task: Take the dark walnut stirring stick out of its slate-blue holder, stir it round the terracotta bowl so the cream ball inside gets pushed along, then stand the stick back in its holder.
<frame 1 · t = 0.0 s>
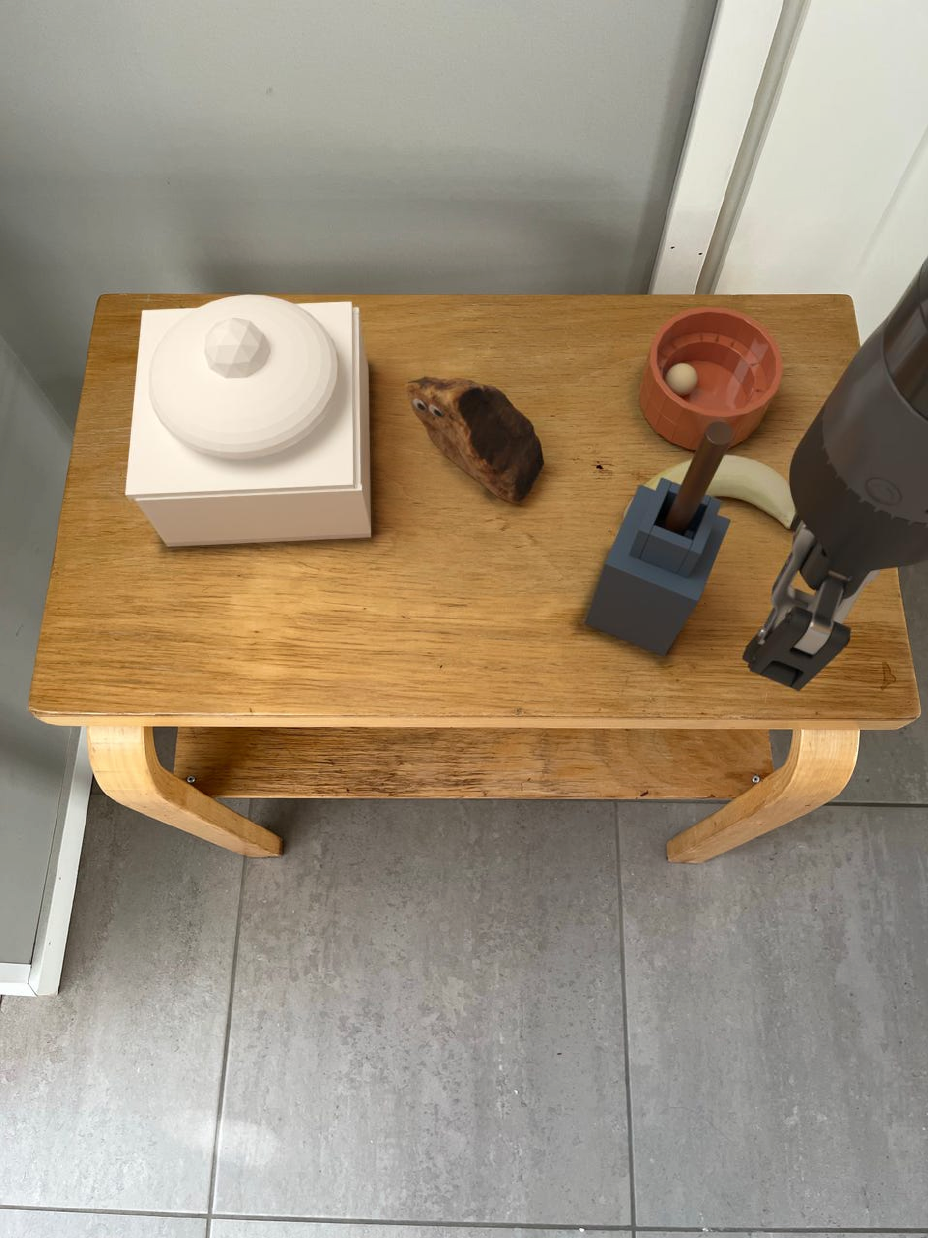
hand: (785, 594, 50), 24 cm above the table, tool pointing down, fingers open, 8 cm apart
decorative rock: (475, 460, 81), on the table
ball: (681, 379, 82), point 2 cm above the table, touching bowl
holder: (638, 604, 76), on the table
stick: (668, 541, 65), point 12 cm above the table, touching holder
white lidded box: (269, 454, 81), on the table
bowl: (699, 401, 83), on the table
fruit: (700, 516, 79), on the table
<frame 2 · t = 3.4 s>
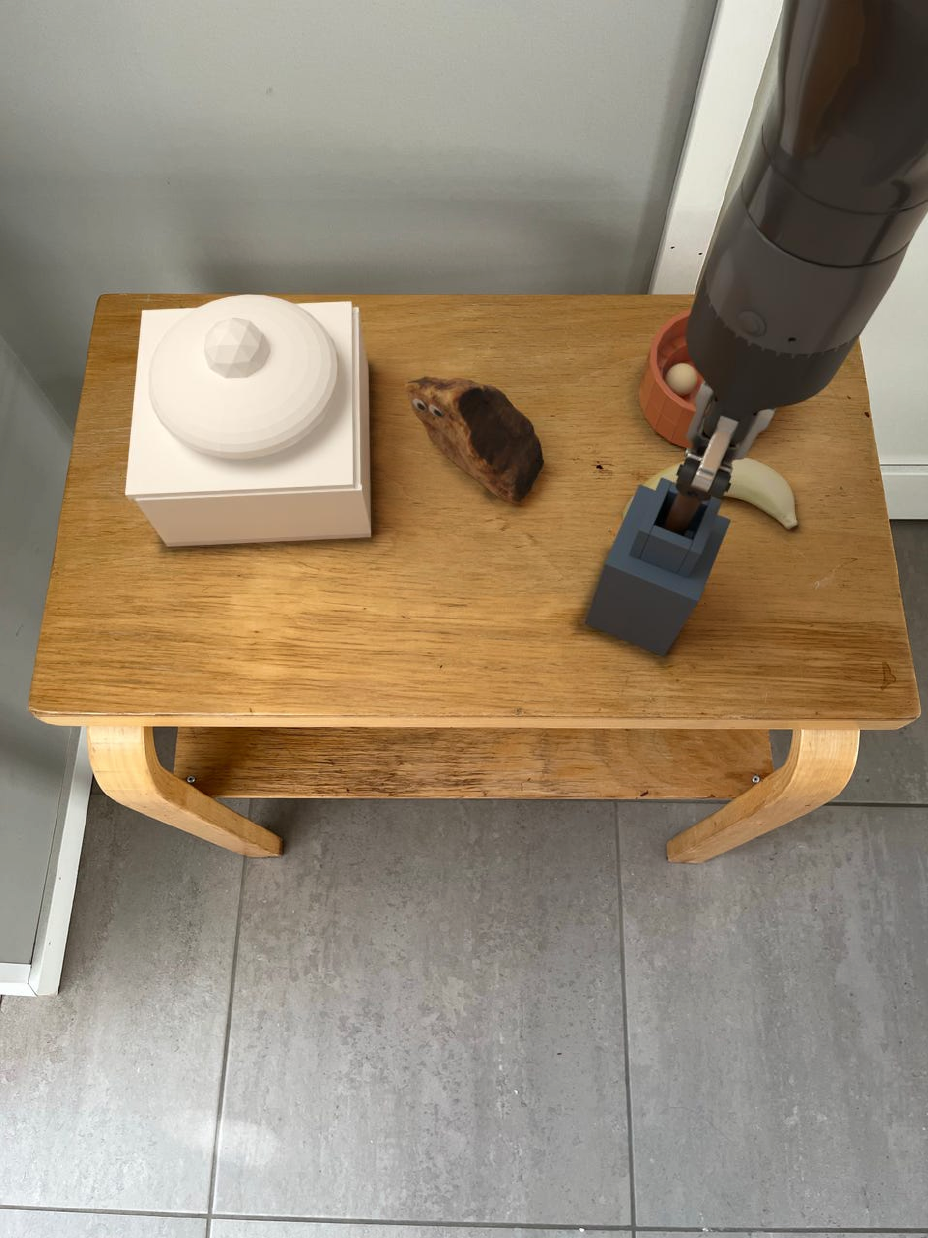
hand: (699, 476, 56), 21 cm above the table, tool pointing down, fingers closed on stick, 1 cm apart
stick: (668, 541, 65), point 12 cm above the table, touching gripper, holder
everything else where it was.
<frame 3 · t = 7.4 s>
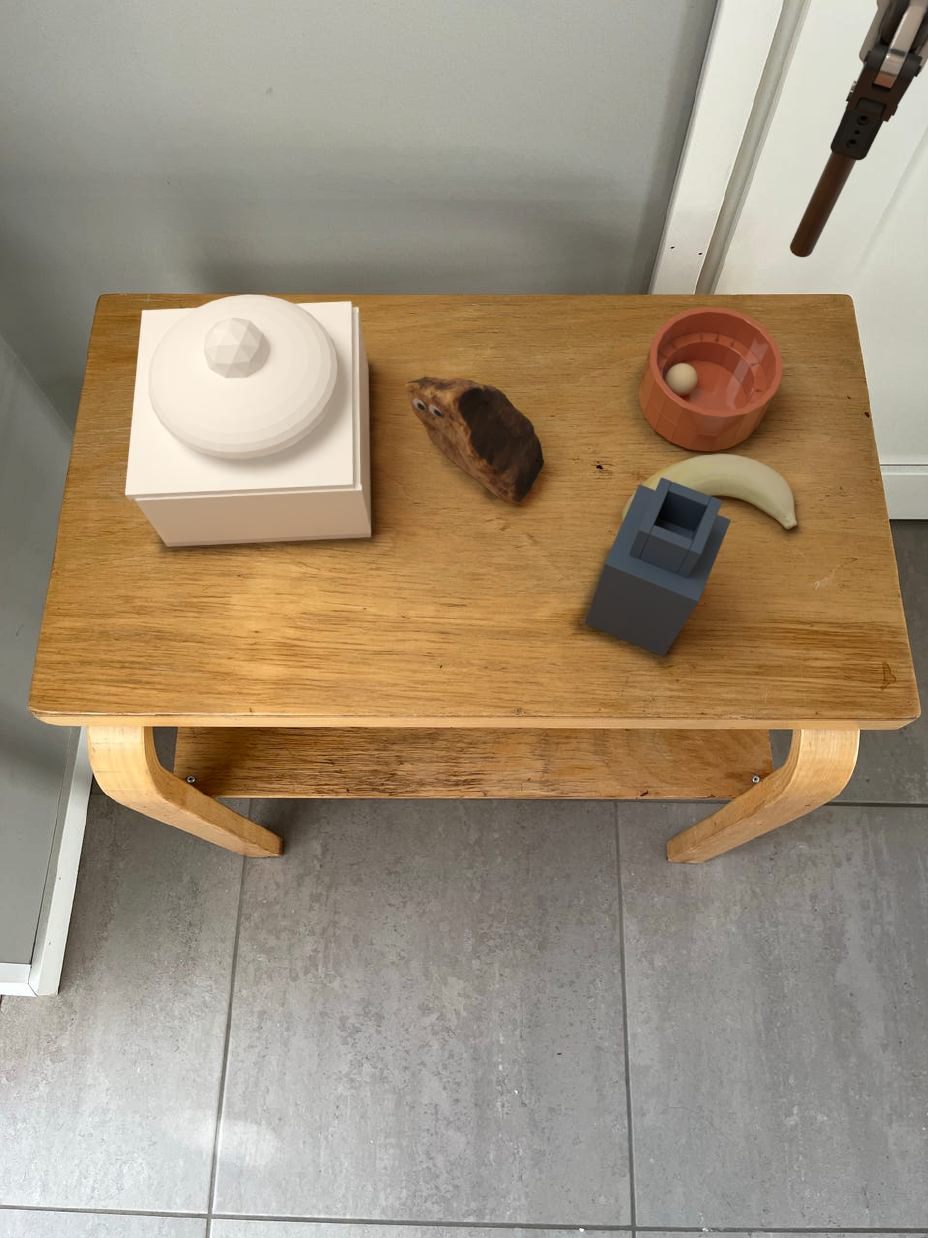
hand: (852, 139, 56), 29 cm above the table, tool pointing down, fingers closed on stick, 1 cm apart
stick: (801, 248, 64), point 20 cm above the table, touching gripper
everything else where it was.
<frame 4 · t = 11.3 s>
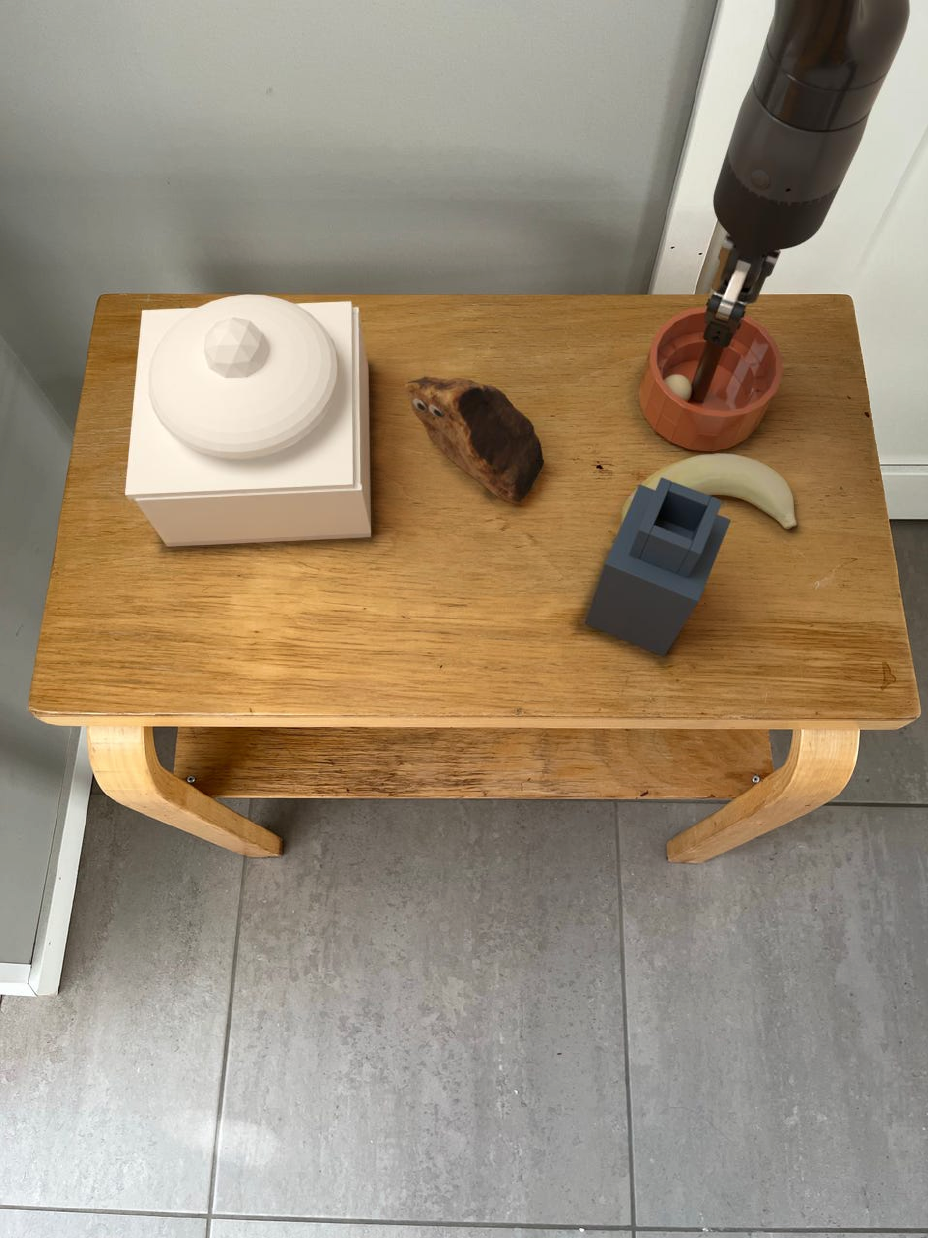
hand: (720, 329, 74), 10 cm above the table, tool pointing down, fingers closed on stick
ball: (675, 390, 81), point 2 cm above the table, tilted 20°, touching bowl, stick
stick: (697, 393, 82), point 1 cm above the table, touching ball, gripper
everything else where it was.
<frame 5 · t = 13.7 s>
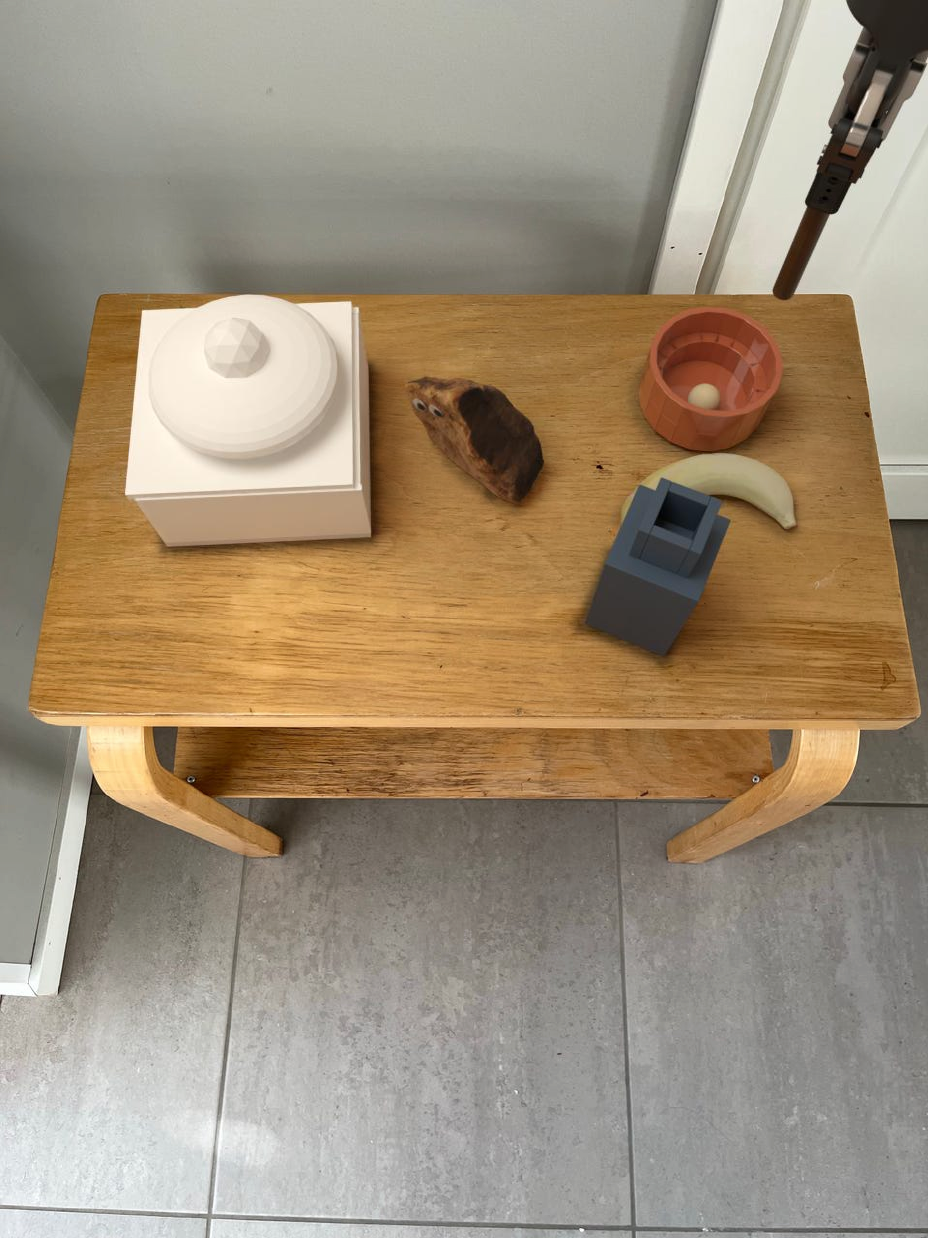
hand: (825, 194, 60), 25 cm above the table, tool pointing down, fingers closed on stick, 1 cm apart
ball: (704, 399, 81), point 2 cm above the table, tilted 82°, touching bowl
stick: (783, 291, 68), point 16 cm above the table, touching gripper
everything else where it was.
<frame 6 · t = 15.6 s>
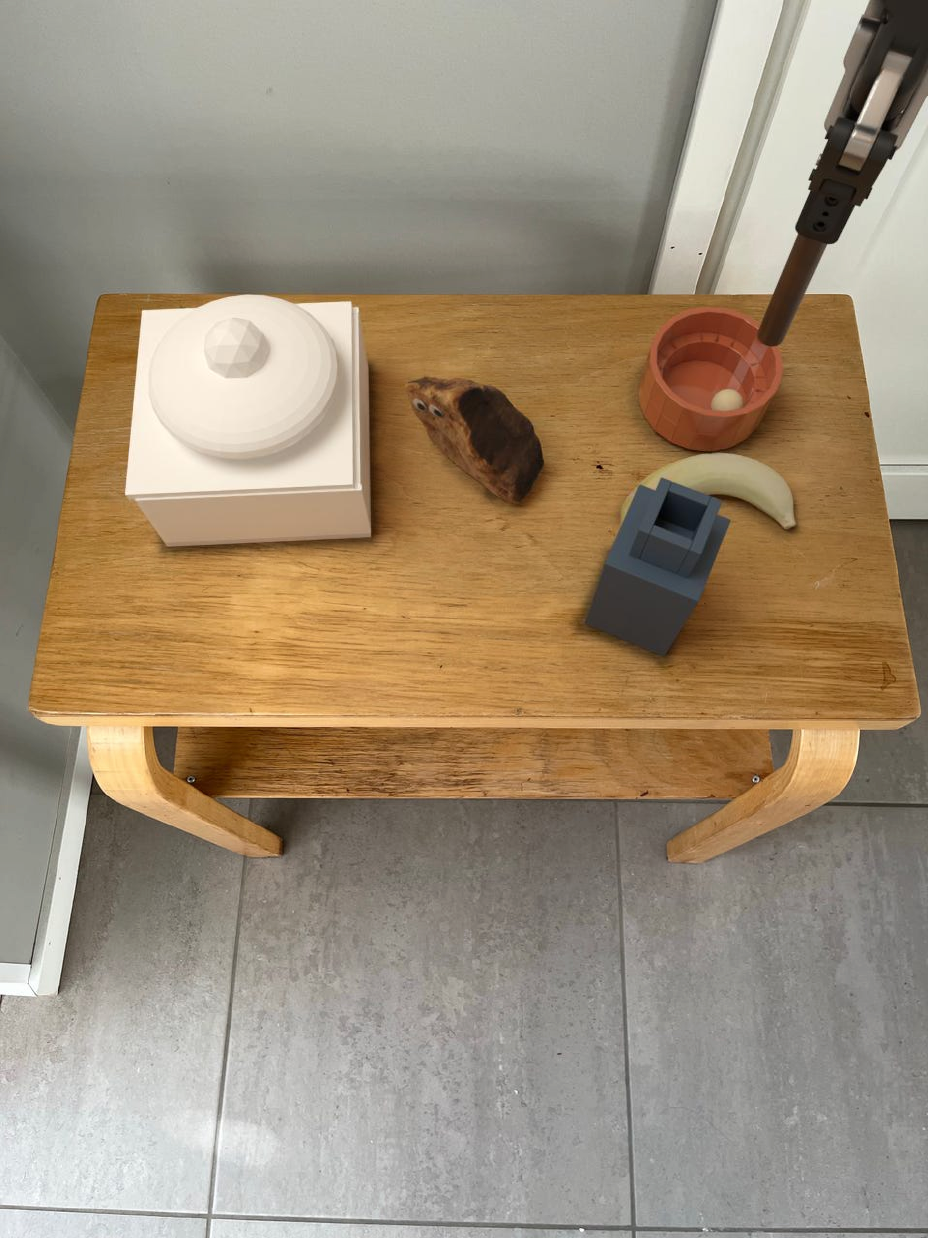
hand: (822, 218, 46), 35 cm above the table, tool pointing down, fingers closed on stick, 1 cm apart
ball: (727, 405, 81), point 2 cm above the table, tilted 167°, touching bowl
stick: (770, 336, 55), point 26 cm above the table, touching gripper
everything else where it was.
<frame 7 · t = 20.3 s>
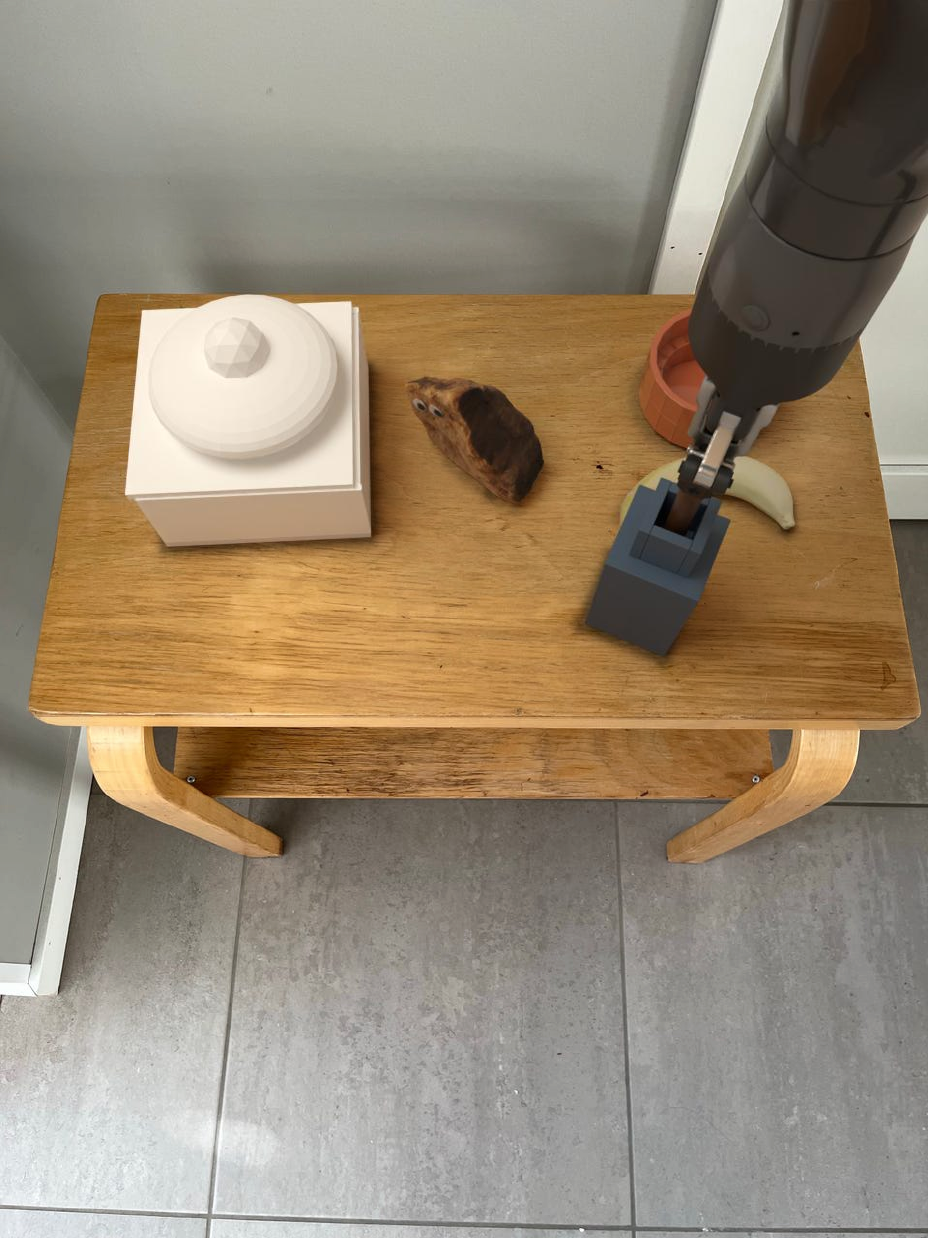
hand: (700, 473, 56), 21 cm above the table, tool pointing down, fingers closed on stick, 1 cm apart
ball: (716, 397, 81), point 2 cm above the table, tilted 120°, touching bowl
stick: (670, 539, 64), point 12 cm above the table, touching gripper
everything else where it was.
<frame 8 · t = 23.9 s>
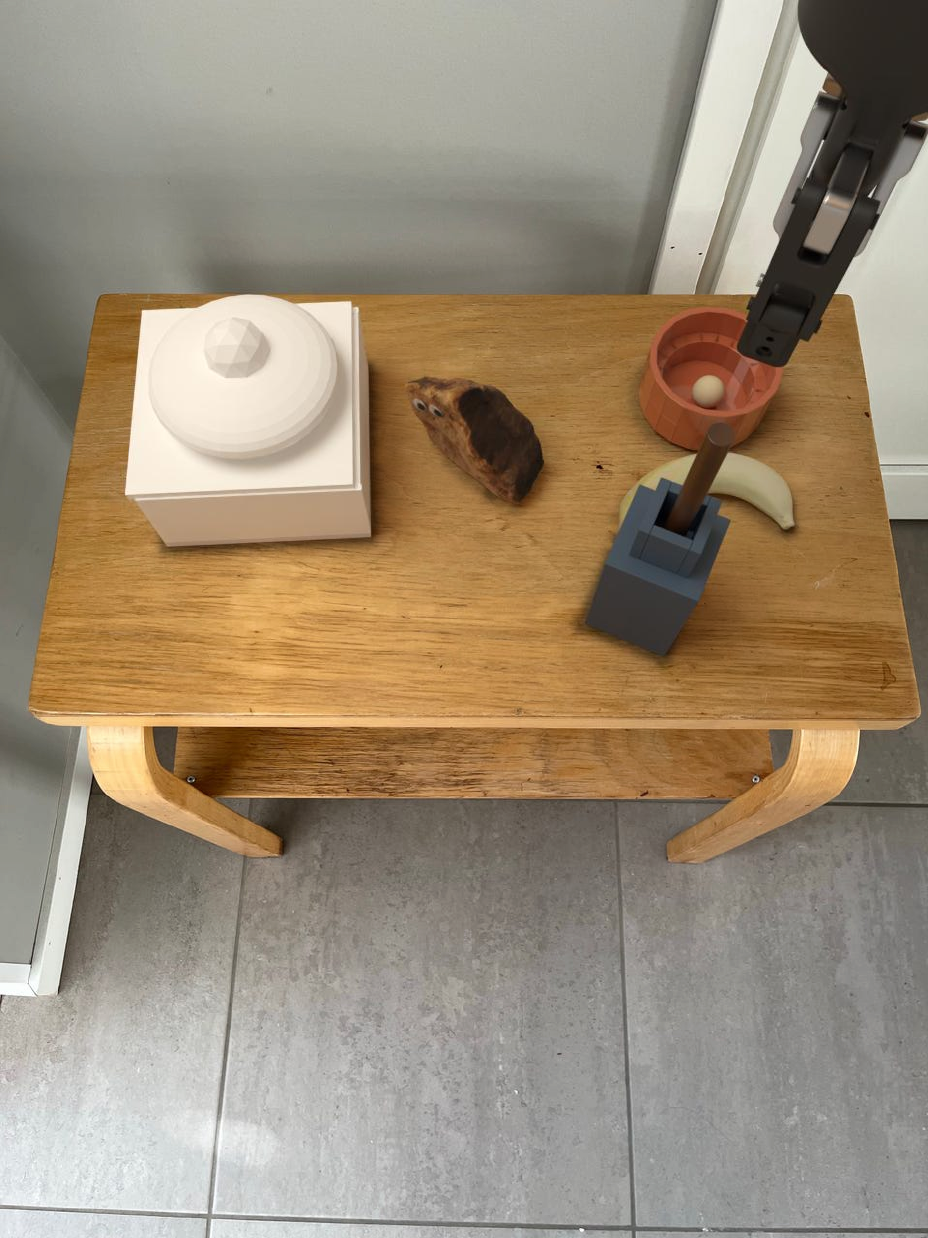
hand: (790, 282, 40), 38 cm above the table, tool pointing down, fingers open, 8 cm apart
ball: (708, 391, 81), point 2 cm above the table, tilted 81°, touching bowl
stick: (669, 542, 65), point 12 cm above the table, touching holder
everything else where it was.
at the end: ball moved 2.6 cm from its start; stick 0.1 cm off-centre on the holder, point 12.0 cm above the holder's base; stick tilted 0° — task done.
